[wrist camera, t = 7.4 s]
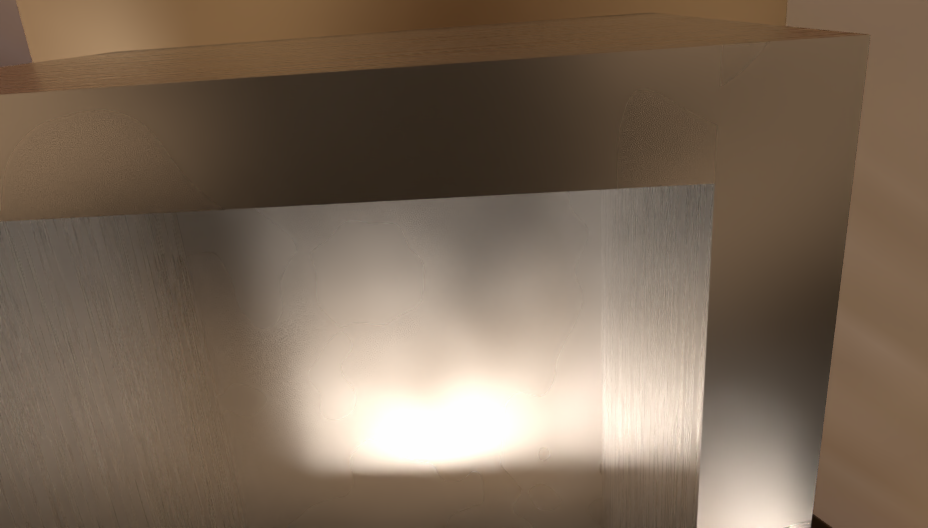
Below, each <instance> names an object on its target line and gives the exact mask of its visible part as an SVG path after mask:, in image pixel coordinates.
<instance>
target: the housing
mask: <svg viewBox="0 0 928 528" xmlns="http://www.w3.org/2000/svg"><path fill="white" fill-rule="evenodd" d="M869 44H870V35H869V34H860V33H850V32H840V31H830V30H820V29H810V28H800V27H790V26H780V25H770V24H760V23H750V22H740V21H730V20H720V19H710V18H700V17H690V16H680V15H670V14H660V13H650V12H649V13H635V14H622V15H608V16H595V17H581V18H567V19H554V20H540V21H526V22H513V23H499V24H485V25H472V26H458V27H445V28H431V29H417V30H404V31H390V32H376V33H363V34H349V35H336V36H322V37H308V38H295V39H281V40H267V41H254V42H240V43H226V44H213V45H199V46H186V47H172V48H158V49H145V50H131V51H117V52H109V53H102V54H95V55H87V56H80V57H72V58H65V59H57V60H50V61H43V62H35V63H28V64H20V65H13V66H5V67H0V528H811V521H812V513H813V505H814V497H815V488H816V480H817V472H818V464H819V455H820V447H821V439H822V431H823V422H824V414H825V406H826V398H827V389H828V381H829V373H830V365H831V357H832V348H833V340H834V332H835V324H836V315H837V307H838V299H839V291H840V282H841V274H842V266H843V258H844V249H845V241H846V233H847V225H848V216H849V208H850V200H851V192H852V184H853V175H854V167H855V159H856V151H857V142H858V134H859V126H860V118H861V109H862V101H863V93H864V85H865V76H866V68H867V60H868V52H869Z"/></svg>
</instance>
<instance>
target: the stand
mask: <svg viewBox="0 0 928 528" xmlns="http://www.w3.org/2000/svg"><path fill="white" fill-rule="evenodd" d="M16 2H17V6H18V10H19V13H20V17H21V21H22V24H23V28H24V32H25V36H26V39H27V43H28V47H29V50H30V54H31V58H32V61H33V63H35V62H43V61H50V60H57V59H65V58H72V57H80V56H87V55H95V54H102V53H109V52H117V51H131V50H145V49H158V48H172V47H186V46H199V45H213V44H226V43H240V42H254V41H267V40H281V39H295V38H308V37H322V36H336V35H349V34H363V33H376V32H390V31H404V30H417V29H431V28H445V27H458V26H472V25H485V24H499V23H513V22H526V21H540V20H554V19H567V18H581V17H595V16H608V15H622V14H635V13H649V12H650V13H660V14H670V15H680V16H690V17H700V18H710V19H720V20H730V21H740V22H750V23H760V24H770V25H780V26H785V24H786V12H787V0H16Z"/></svg>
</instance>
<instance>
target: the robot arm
mask: <svg viewBox="0 0 928 528" xmlns="http://www.w3.org/2000/svg"><path fill="white" fill-rule="evenodd" d="M811 528H832V527H830V526H829V525H828V524H826V523H825V522H824V521H822V520H821V519H819V518H818V517H817V516H815V515H814V514H813V513H812V521H811Z"/></svg>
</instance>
